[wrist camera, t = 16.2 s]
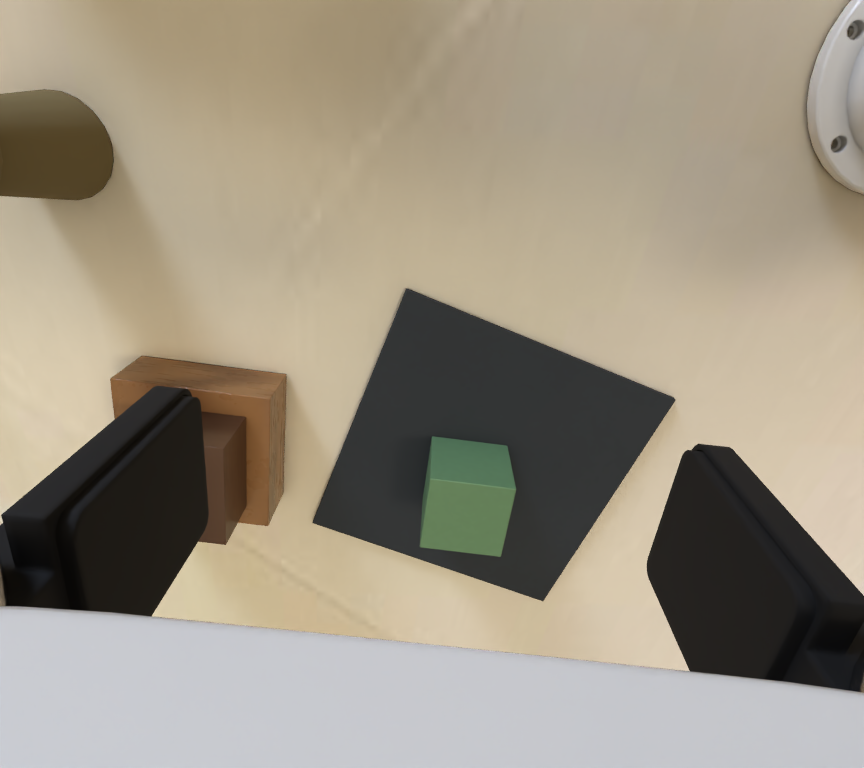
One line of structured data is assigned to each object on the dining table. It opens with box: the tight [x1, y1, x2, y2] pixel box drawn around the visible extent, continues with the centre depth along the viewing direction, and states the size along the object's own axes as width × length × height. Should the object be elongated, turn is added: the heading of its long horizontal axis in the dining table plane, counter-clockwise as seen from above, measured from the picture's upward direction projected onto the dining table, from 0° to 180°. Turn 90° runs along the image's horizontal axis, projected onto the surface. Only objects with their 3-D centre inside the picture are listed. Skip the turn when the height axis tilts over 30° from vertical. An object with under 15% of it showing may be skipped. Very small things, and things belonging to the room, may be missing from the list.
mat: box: [313, 289, 675, 601], centre depth 41 cm, size 20×20×1 cm
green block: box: [420, 436, 516, 557], centre depth 39 cm, size 6×6×6 cm
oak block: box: [110, 356, 286, 526], centre depth 39 cm, size 10×10×4 cm
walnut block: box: [198, 411, 247, 545], centre depth 35 cm, size 7×7×4 cm
